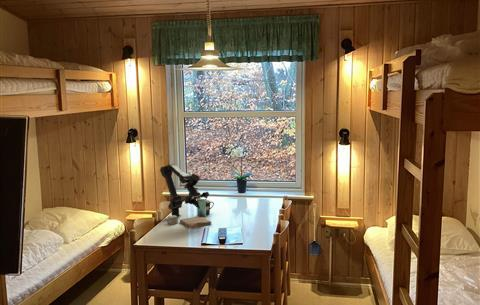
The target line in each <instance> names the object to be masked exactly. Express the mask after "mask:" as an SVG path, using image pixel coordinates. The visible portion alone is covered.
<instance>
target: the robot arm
mask: <svg viewBox="0 0 480 305" xmlns="http://www.w3.org/2000/svg"><path fill="white" fill-rule="evenodd" d="M159 170H160V173H161V176H162V177H163V178H164V179H165V183H166V185H167V189H168V191H169V195H170V198H169V204H168V205H167V208H168V209H169V210H171V211H170V212H171V215H175V216H177V218H179V216H180V217H181V216H182V215H180V208H181V209H182V207H183V201H184V204H190V205H193V206H195V208H196V209H197V208H198V209H199V205H198V203H197V198H198V197H205V198H206V199H207V198H208V197H209V196H210V193H209V192H208V191H204V192H202V194H201V191H200V192H199V191H198V187H196V185H197V184H198V183H199V182H200V176H199V175H197V174H195V173H191V174H189V173H187V172H184V171H183V170H182V169H180V168H179V167H178V166H177V165H176V164H175V163H170V164H167V165H165V166H164V165H163V166H161V167H160V169H159ZM173 174H174V175H175V176H177V178H178V179H179V181H180V182H181V184H185V185H184V187H183V188H184V189H186V190H187V192H188V195H187V196H186V197H185V198H184V200H183V199H182V196H181V195H179V194H178V193H177V189H176V186H175V183H174V180H173V178H172V177H173V176H172V175H173ZM206 206H207V204H206Z"/></svg>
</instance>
